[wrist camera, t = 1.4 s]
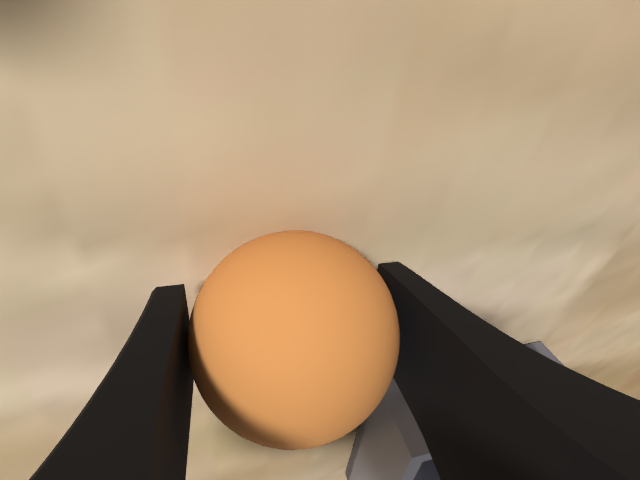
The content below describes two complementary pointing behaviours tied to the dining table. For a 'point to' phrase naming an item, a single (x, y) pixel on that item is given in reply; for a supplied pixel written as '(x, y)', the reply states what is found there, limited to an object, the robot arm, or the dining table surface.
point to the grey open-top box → (397, 440)
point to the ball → (293, 340)
